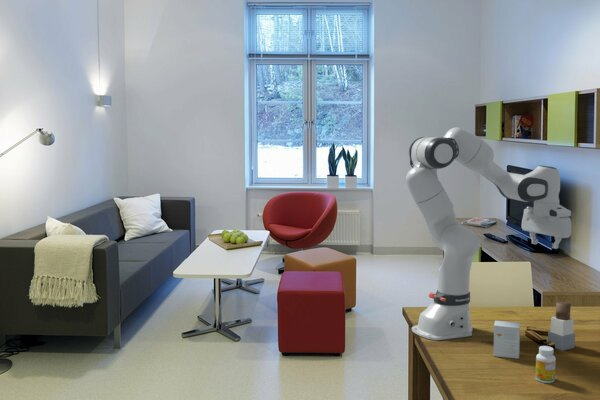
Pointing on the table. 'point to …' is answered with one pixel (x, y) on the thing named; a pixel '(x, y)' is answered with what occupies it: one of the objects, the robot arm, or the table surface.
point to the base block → (562, 340)
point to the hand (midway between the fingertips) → (544, 246)
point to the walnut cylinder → (563, 310)
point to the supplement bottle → (545, 365)
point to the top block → (562, 326)
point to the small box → (506, 339)
